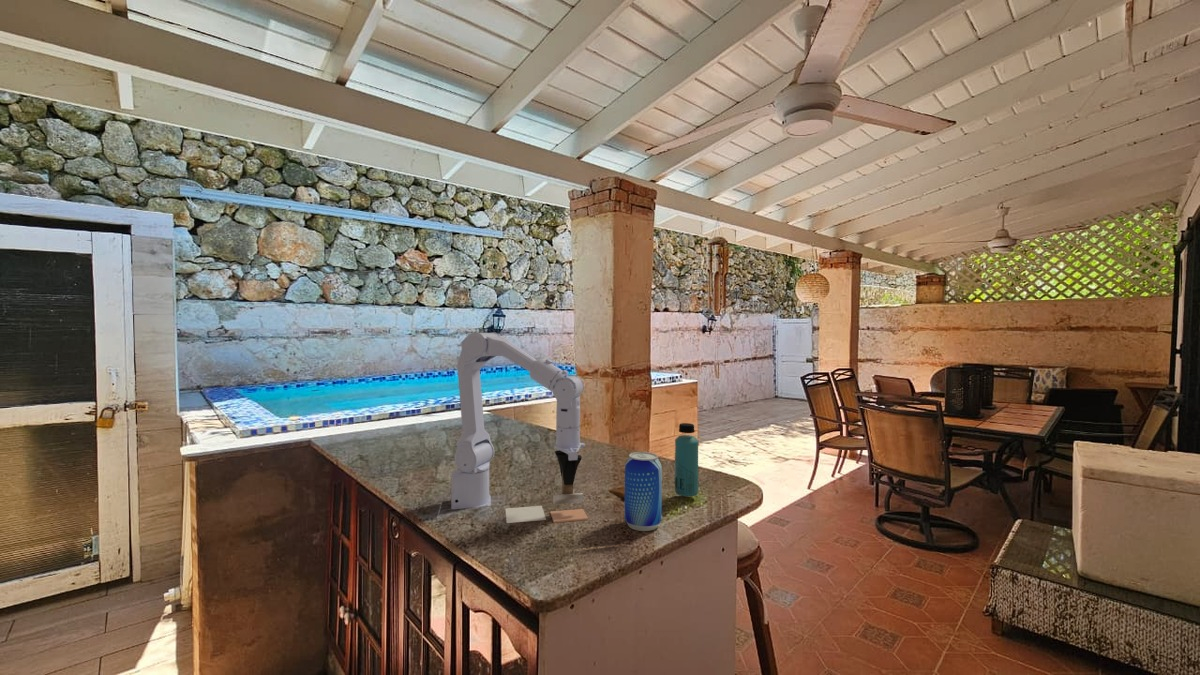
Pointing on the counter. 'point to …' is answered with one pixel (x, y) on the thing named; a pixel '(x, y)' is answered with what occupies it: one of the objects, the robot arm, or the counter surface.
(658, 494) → the beer can
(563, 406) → the robot arm
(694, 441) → the beverage bottle
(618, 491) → the primitive tool
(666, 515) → the counter surface
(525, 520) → the mat
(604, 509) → the counter surface
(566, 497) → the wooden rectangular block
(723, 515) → the counter surface
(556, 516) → the tile
